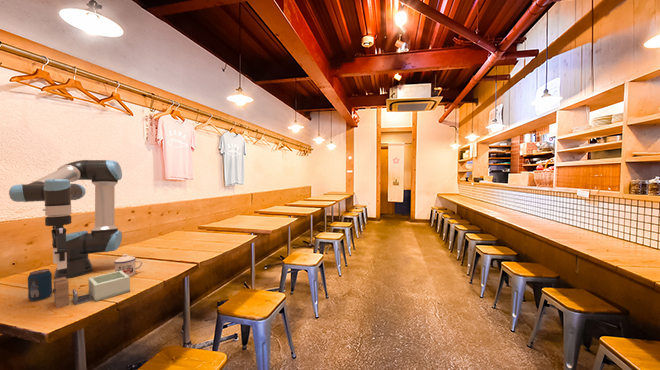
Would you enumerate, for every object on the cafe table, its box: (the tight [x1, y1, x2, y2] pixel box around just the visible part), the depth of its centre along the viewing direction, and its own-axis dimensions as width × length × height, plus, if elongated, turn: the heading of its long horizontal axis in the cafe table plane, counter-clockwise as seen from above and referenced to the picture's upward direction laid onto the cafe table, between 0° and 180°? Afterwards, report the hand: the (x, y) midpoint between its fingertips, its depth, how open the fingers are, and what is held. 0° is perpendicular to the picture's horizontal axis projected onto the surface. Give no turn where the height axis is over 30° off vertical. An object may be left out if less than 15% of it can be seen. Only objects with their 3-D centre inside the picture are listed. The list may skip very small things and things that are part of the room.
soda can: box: [27, 268, 53, 302], centre depth 111 cm, size 7×7×12 cm
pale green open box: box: [87, 271, 131, 302], centre depth 116 cm, size 14×12×7 cm
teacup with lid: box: [113, 253, 143, 278], centre depth 137 cm, size 12×9×12 cm
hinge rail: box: [71, 288, 94, 306], centre depth 109 cm, size 8×6×5 cm
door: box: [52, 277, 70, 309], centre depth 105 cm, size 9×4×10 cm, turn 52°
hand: (59, 265), depth 105 cm, fingers open, 13 cm apart
